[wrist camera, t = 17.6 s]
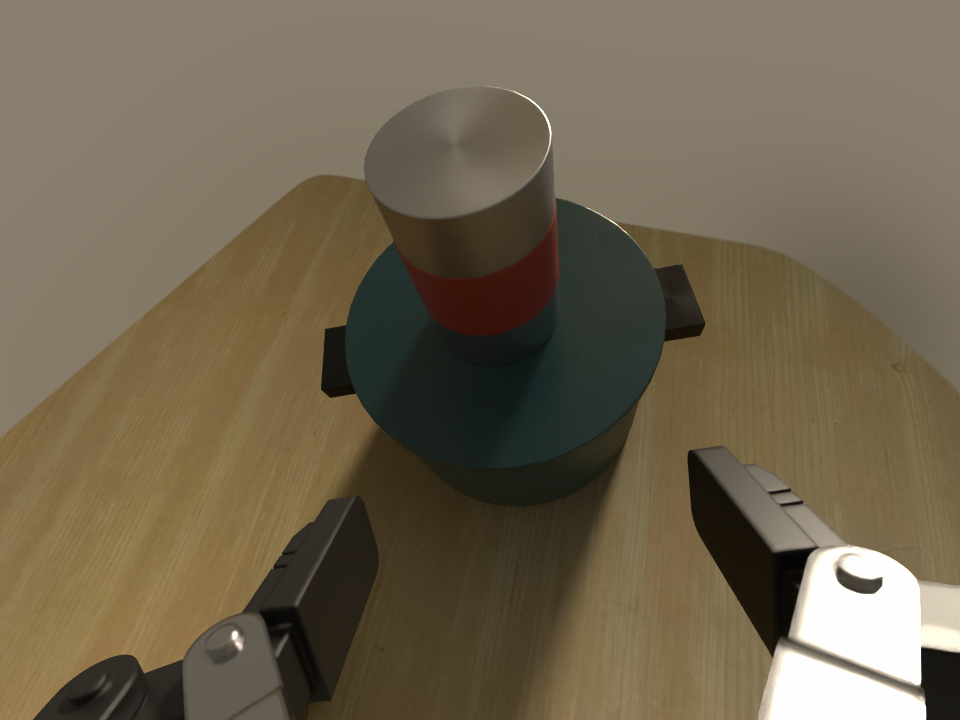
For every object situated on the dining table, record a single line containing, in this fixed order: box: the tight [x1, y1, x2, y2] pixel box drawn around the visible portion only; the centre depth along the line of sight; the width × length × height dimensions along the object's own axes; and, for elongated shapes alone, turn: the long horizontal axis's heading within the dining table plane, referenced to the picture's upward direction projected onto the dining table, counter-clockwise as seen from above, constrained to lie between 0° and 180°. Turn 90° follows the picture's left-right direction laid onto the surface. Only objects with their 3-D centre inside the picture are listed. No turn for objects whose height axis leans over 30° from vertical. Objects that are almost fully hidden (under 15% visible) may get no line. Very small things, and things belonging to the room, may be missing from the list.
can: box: [364, 86, 559, 366], centre depth 20 cm, size 6×6×10 cm
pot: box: [321, 198, 705, 506], centre depth 29 cm, size 21×17×10 cm
